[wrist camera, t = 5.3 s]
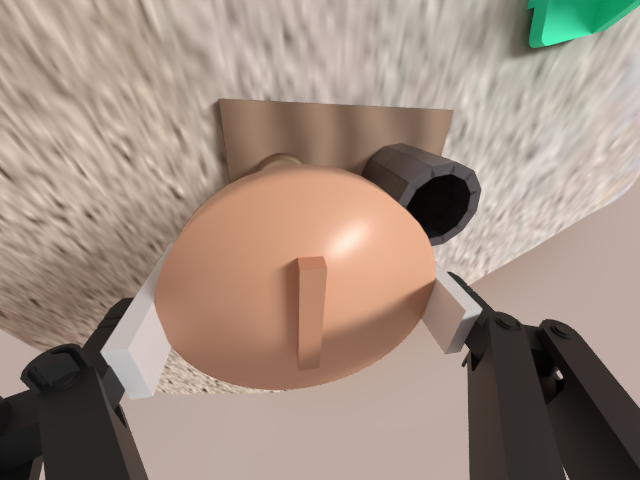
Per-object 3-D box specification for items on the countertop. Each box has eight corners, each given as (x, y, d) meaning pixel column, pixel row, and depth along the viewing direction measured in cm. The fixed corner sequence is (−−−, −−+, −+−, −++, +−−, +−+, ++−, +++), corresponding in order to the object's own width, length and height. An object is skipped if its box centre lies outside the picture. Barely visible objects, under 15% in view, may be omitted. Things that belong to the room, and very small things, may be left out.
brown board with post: (238, 234, 34) (229, 279, 26) (221, 98, 26) (200, 100, 18) (415, 227, 38) (454, 262, 30) (445, 109, 31) (510, 115, 22)
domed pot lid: (208, 334, 17) (187, 422, 12) (159, 148, 11) (83, 191, 6) (376, 315, 19) (409, 385, 15) (414, 152, 13) (492, 186, 8)
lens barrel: (348, 174, 31) (379, 205, 22) (406, 128, 29) (463, 142, 21) (381, 220, 35) (417, 261, 26) (433, 182, 33) (490, 211, 25)
